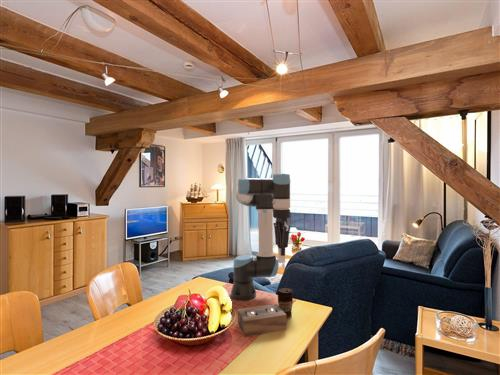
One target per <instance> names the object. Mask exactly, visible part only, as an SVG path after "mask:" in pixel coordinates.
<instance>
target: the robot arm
mask: <svg viewBox="0 0 500 375" xmlns="http://www.w3.org/2000/svg"><path fill="white" fill-rule="evenodd" d="M235 196H236V197H235V198H236V200H237V201H238V203H239V204H241V205H242V206H245V207H251V208H252V207H255V210H256V212H257V213H258V220H257V221H258V227H257V228H258V252H257V253H256V254H255V255H256V257H254V256H253V255H252V254H243V255H239V256H236V257H235V258H234V259H233V266H232V267H233V284H232V288H231V290H230V296H231V298H232V299H235V300H236V301H237V300H238V301H249V300H252V299H255V297H256V296H257V290H256V288H255V287H256V286H255V285H254V279H255V278H256V279H257V278H272V277H276V276H277V274H278V271H279V264H285V263H286V248H288V246H289V238H290V231H291V226H290V225H288V219H289V218H290V217H291V209H290V208H291V175H290V173H287V172H285V173H284V172H283V173H282V172H281V173H279V172H278V173H274V174H272V178H271V177H269V178H268V177H267V178H266V177H265V178H250V177H249V178H246V177H244V178H239V179H238V180H237V192H236V195H235ZM273 218H274V219H275V222H273ZM273 227H274V228H273ZM273 229H274V232H273ZM273 233H274V234H273ZM273 235H274V237H275V245H276V246H277V256H276V253H275V252H274V242H273V241H274V240H273Z"/></svg>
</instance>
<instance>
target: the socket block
mask: <svg viewBox="0 0 500 375" xmlns="http://www.w3.org/2000/svg"><path fill="white" fill-rule="evenodd" d="M268 308H275V309H276V312H275V313H268V312H267V309H268ZM248 311H255V312H256V315H255V316H249V317H248V316H247V312H248ZM287 319H288V318H286V313H285V312H284V311H283V310H282V309H281V308H280V307H279V305H278V303H273V304H266V305H265V304H264V305H258V306H251V307H245V308H243V307H242V308H238V309H237V325H238V327H239V329H240V331H241V333H242V335H243V337H244V338H246V337H253V336H258V335H264V334H269V333H276V332H281V331H286V330H287V327H288V326H287V324H288V323H287Z"/></svg>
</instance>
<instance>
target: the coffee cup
mask: <svg viewBox="0 0 500 375" xmlns="http://www.w3.org/2000/svg"><path fill="white" fill-rule="evenodd" d="M294 294H295V292H294V291H293V289H292V288H288V287H283V288H279V289H278V290H277V292H276V295H277V305H278V306H279V307H280V308H281V309H282V310H283V311H284V312H285V313H286V319H288V318H291V317H292V316H293V315H292V313H293V312H292V310H293V309H292V308H293V303H294V302H293V298H294Z"/></svg>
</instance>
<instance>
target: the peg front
mask: <svg viewBox="0 0 500 375" xmlns="http://www.w3.org/2000/svg"><path fill="white" fill-rule="evenodd" d="M255 315H256V312H255V311H248V312H247V316H248V317H249V316H255Z"/></svg>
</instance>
